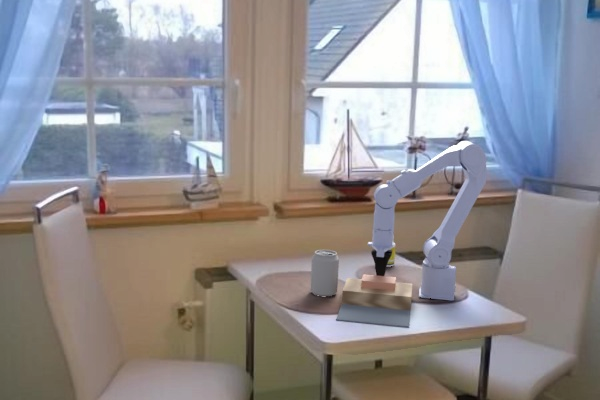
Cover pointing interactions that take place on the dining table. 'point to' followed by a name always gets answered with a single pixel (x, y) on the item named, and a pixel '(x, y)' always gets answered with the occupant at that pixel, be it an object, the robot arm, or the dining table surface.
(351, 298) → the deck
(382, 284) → the pink rectangular block
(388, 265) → the supplement bottle
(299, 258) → the dining table surface
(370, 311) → the mat
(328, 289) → the can
